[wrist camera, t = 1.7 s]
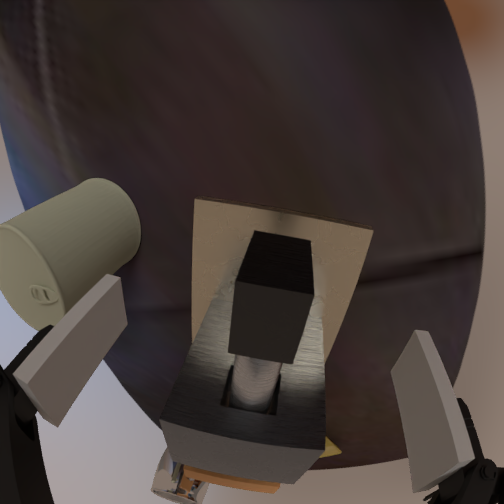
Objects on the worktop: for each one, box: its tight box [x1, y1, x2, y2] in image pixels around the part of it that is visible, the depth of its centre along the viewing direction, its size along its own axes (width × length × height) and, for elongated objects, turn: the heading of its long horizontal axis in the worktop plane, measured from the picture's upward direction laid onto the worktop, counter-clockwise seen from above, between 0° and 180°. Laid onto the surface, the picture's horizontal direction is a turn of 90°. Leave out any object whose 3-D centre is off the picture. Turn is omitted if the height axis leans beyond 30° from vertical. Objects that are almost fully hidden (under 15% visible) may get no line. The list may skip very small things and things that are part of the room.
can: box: [0, 178, 141, 331], centre depth 20 cm, size 9×9×12 cm
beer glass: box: [151, 447, 209, 504], centre depth 31 cm, size 7×7×15 cm
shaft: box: [228, 230, 315, 414], centre depth 19 cm, size 27×3×5 cm, turn 173°
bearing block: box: [159, 196, 374, 484], centre depth 22 cm, size 26×14×14 cm, turn 173°
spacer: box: [183, 465, 280, 493], centre depth 24 cm, size 3×9×9 cm, turn 83°
